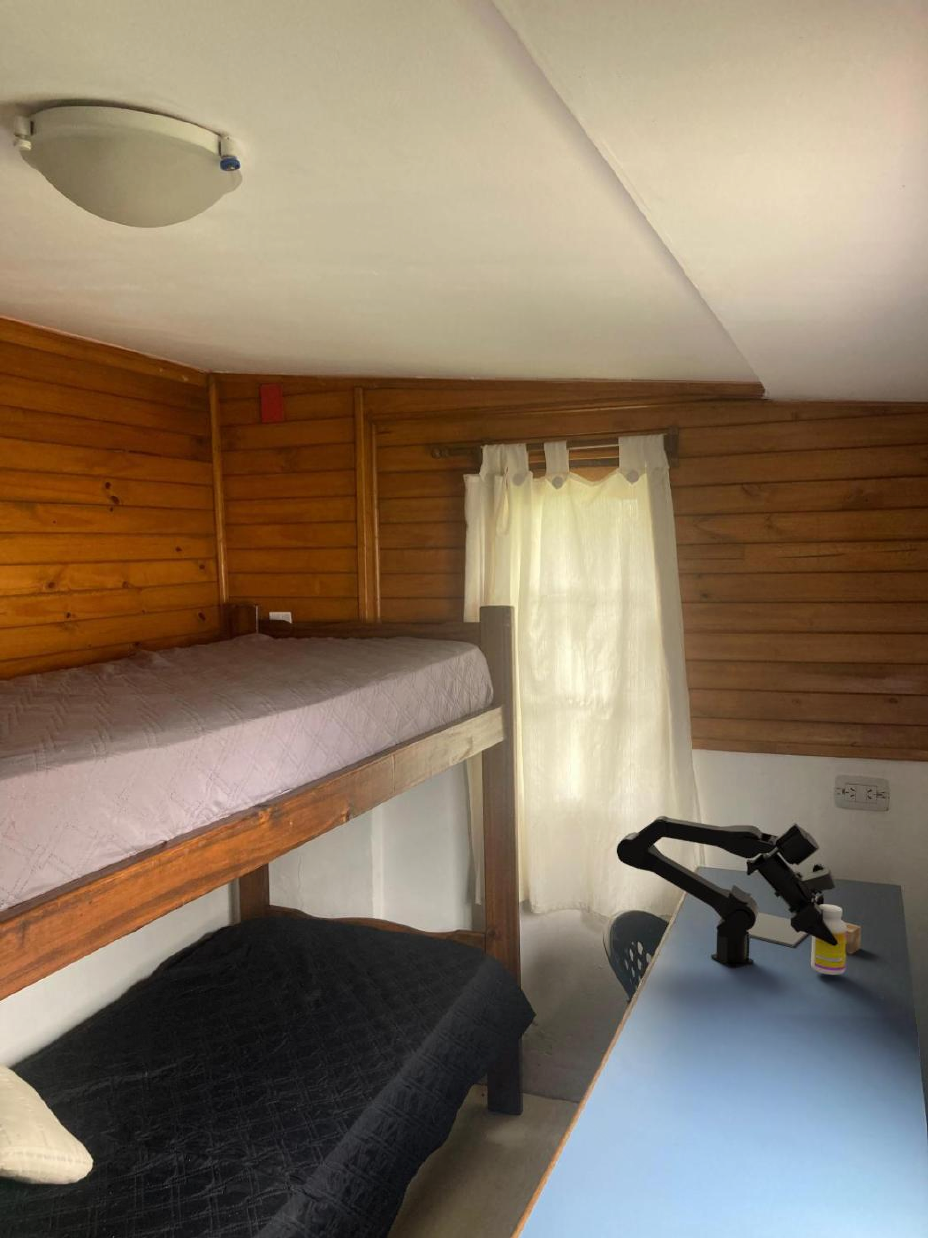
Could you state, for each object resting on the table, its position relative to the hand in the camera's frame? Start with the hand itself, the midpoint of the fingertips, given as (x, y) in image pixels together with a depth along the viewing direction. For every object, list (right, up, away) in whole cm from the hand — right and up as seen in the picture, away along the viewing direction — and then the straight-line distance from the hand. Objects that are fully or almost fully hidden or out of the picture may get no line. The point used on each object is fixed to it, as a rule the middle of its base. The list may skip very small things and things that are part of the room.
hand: (836, 938), depth 194 cm
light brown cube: (+8, -8, +16) cm, 20 cm away
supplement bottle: (-1, -7, +1) cm, 7 cm away
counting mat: (-5, -7, +27) cm, 29 cm away
